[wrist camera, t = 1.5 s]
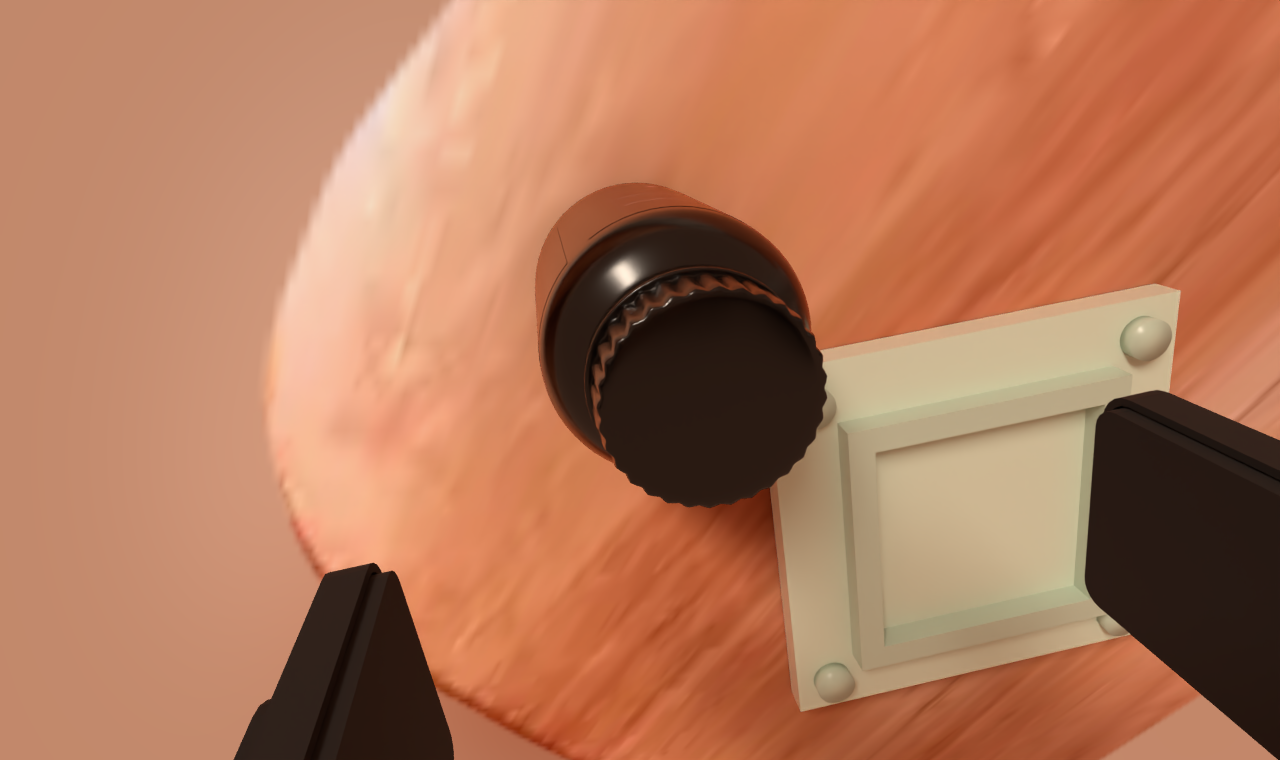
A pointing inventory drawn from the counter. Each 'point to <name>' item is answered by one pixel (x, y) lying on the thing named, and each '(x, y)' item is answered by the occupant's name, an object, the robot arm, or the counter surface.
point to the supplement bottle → (677, 344)
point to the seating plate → (957, 494)
